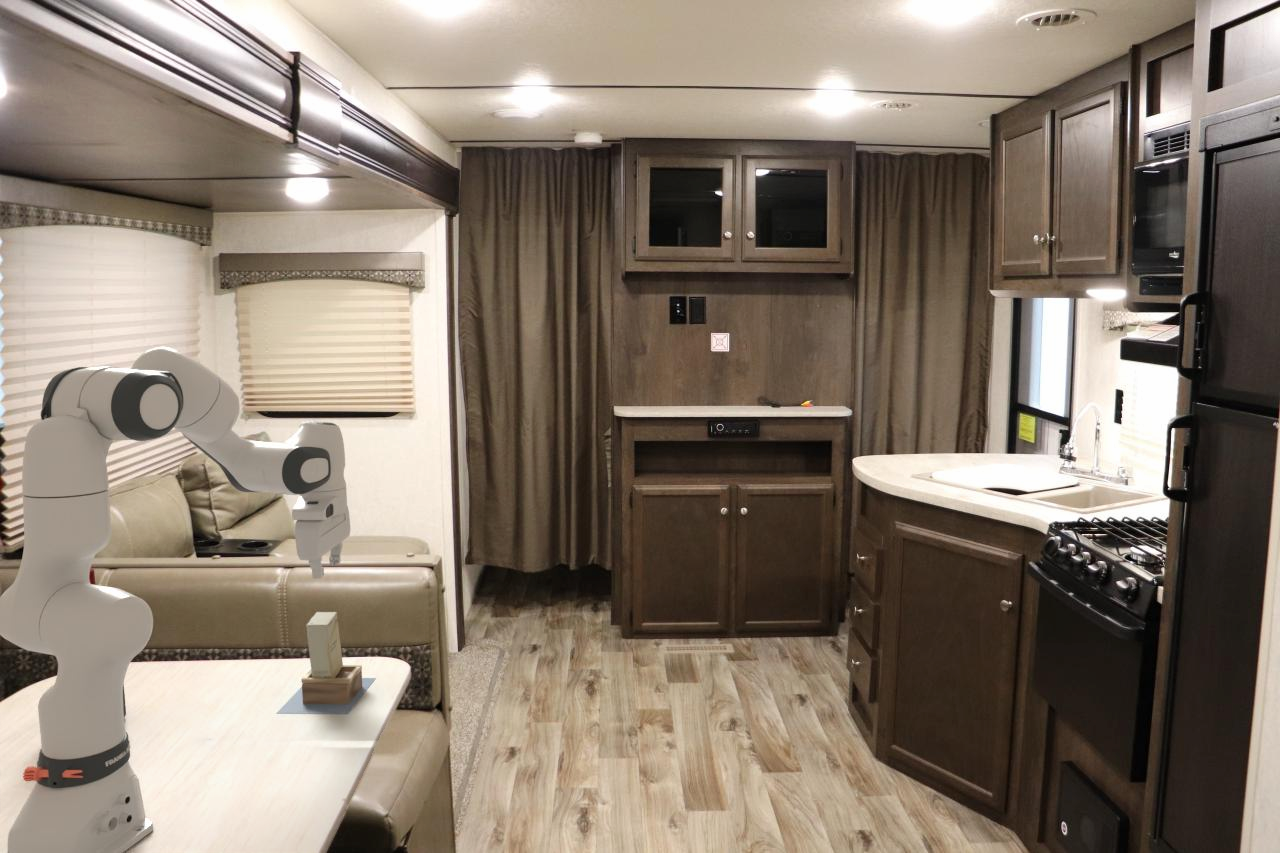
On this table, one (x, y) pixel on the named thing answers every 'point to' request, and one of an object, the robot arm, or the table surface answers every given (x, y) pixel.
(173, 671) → the table surface
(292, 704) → the blue board
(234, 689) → the table surface
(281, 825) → the table surface
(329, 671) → the skincare box
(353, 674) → the walnut tray
